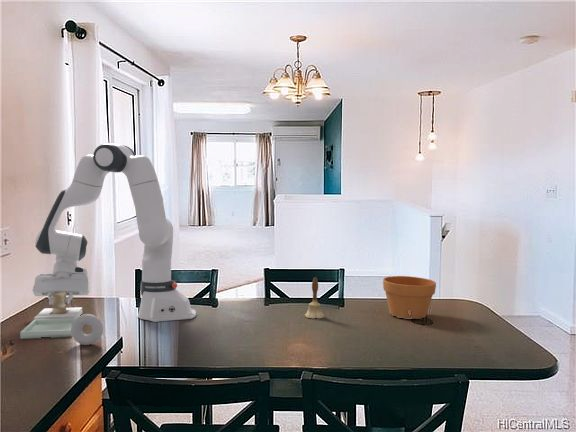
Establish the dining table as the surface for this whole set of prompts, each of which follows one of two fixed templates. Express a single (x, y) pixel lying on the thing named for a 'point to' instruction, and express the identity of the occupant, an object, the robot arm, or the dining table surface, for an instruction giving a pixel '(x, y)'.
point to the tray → (48, 328)
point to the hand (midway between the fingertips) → (58, 303)
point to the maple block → (58, 303)
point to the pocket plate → (70, 313)
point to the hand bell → (314, 303)
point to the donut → (91, 321)
